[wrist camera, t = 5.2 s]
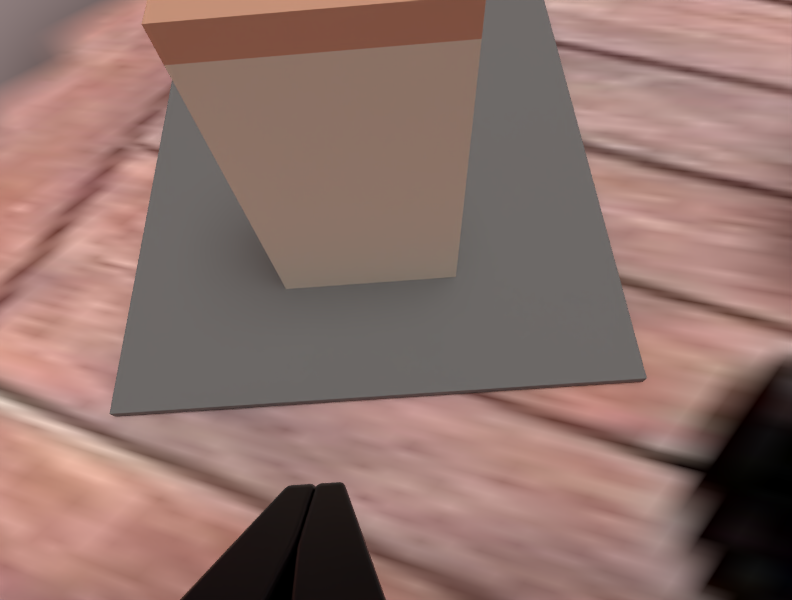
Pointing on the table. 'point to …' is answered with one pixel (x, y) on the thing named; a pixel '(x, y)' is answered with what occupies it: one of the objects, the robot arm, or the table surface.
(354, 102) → the tan bar
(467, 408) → the table surface
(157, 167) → the mat
